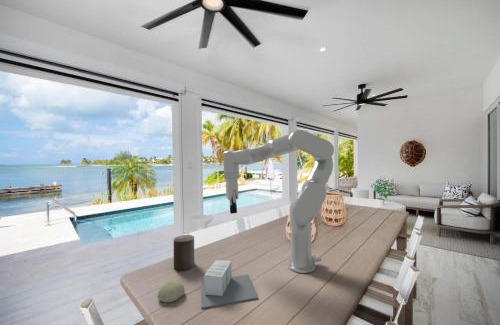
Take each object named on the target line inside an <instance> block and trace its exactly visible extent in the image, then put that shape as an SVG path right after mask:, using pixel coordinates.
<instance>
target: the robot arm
mask: <svg viewBox="0 0 500 325" xmlns="http://www.w3.org/2000/svg"><path fill="white" fill-rule="evenodd" d="M334 147H335V146H334V144H332V142H330V141H329V140H327V139H325V138H322V137H320V136H318V135H316V134H313V133H311V132H309V131H307V130H304V129H296V130H293V131H292V132H291V133H289V134H286V135H282V136H279V137H276V138H273V139H270V140H268V141H267V142H265V143H264V144H262V145H260V146H257V147H254V148H251V149H243V148H242V149H240V150H226V151H224V152H222V158H223V159H222V161H223V179H224V180H225V197H226V199H227V200H228V201H229V212H230V215H231V214H237V213H238V208H237V200H238V199H239V185H238V184H239V183H238V181H239V179H240V166H241V165H242V166H246V165H247V166H248V165H249V166H250V165H252V164H256V163H259V162H262V161H265V160H270V159H274V158H277V157H280V156H283V155H286V154H290V153H293V152H297V151H299V150H300V151H301V152H303V153H305V154H308V155H310V156H312V158H313V163H314V164H313V166H312V169H311V171H310V173H309V175H308V176H307V178H306V180H305V181H304V183H303V184H302V186H301V194H299V197H298V198H296V199H294V200H293V201H292V202H291V203H290V205H289V220H290V222H289V224H290V229H289V230H290V260H288V262H287V267H288V268H289V269H290V270H291V271H293V272H296V273H299V274H300V273H301V274H307V273H308V274H309V273H311V272H314V271H315V270H316V264H315V263H316V262H322V257H321V256H316V255H313V252H312V222H313V220H314V218H315V217H316V216H317V214H318V213H319V211H320V208H321V207H322V205H323V204H324V202H325V200H326V197H327V189H326V185H327V183H328V181H329V179H330V177H331V175H332V172H333V170H334V169H333V168H334V162H333V155H334V153H335V148H334ZM239 165H240V166H239Z"/></svg>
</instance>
